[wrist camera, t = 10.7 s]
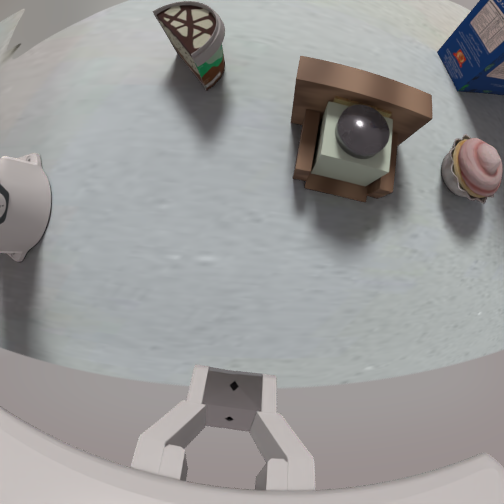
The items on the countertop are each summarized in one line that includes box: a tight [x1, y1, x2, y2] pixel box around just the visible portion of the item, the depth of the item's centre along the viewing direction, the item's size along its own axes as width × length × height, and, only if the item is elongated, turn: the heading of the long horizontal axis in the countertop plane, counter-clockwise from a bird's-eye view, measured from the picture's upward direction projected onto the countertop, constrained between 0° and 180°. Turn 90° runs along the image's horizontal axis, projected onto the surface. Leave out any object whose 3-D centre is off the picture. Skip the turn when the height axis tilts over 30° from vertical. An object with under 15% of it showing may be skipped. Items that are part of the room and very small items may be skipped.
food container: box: [153, 1, 225, 91], centre depth 29 cm, size 12×6×10 cm, turn 33°
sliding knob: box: [311, 101, 393, 186], centre depth 28 cm, size 7×6×10 cm
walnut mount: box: [291, 56, 432, 202], centre depth 28 cm, size 14×11×11 cm
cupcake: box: [441, 134, 503, 204], centre depth 27 cm, size 9×9×10 cm
